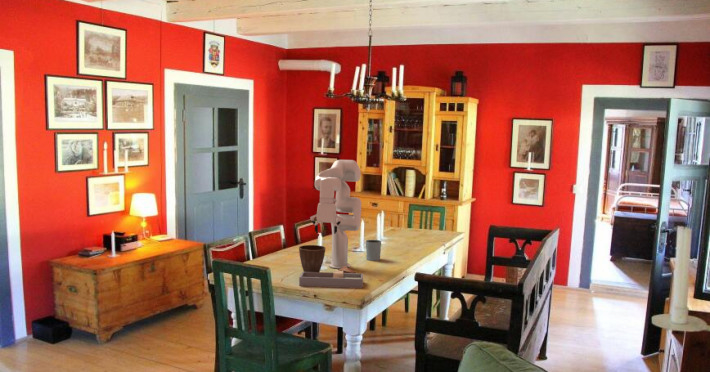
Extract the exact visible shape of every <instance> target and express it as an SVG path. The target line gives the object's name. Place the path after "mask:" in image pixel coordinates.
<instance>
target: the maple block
mask: <svg viewBox="0 0 710 372" xmlns="http://www.w3.org/2000/svg"><path fill="white" fill-rule="evenodd" d="M332 273H333V278H343V271H338V270H333V272H332Z"/></svg>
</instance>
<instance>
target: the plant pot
mask: <svg viewBox="0 0 710 372" xmlns="http://www.w3.org/2000/svg"><path fill="white" fill-rule="evenodd" d="M298 251H299V252H298V253H299V259H300V263H301V267H302V270H303V271H302V272H321V269H322V266H323V263H324V258H325V255H326V254H325V253H326V247H325V246H323V245H319V244H318V245H316V244H307V245H305V244H304V245H300V246H298Z"/></svg>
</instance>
